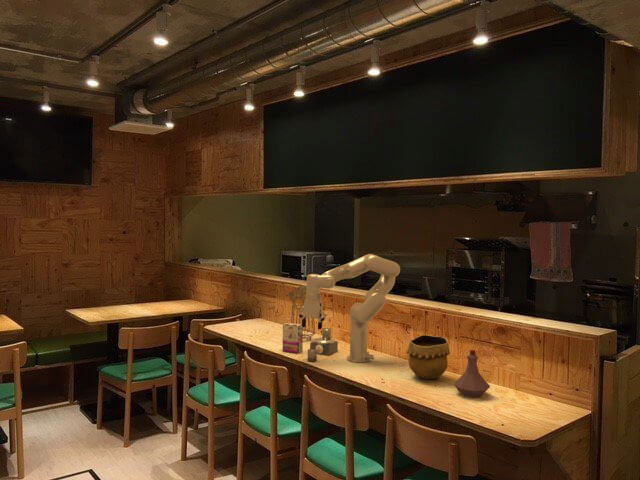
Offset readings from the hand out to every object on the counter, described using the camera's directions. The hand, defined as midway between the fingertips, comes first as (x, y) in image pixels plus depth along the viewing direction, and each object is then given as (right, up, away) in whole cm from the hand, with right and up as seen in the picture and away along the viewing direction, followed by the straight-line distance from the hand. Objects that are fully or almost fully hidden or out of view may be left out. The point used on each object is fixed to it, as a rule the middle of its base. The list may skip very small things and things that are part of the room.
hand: (311, 328), depth 289 cm
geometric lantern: (-7, -16, +50) cm, 53 cm away
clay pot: (+58, -21, -27) cm, 67 cm away
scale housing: (+7, -18, +20) cm, 28 cm away
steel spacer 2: (+8, -10, +23) cm, 26 cm away
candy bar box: (-12, -17, +20) cm, 29 cm away
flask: (+73, -22, -50) cm, 91 cm away
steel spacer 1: (0, -18, +1) cm, 18 cm away
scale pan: (+7, -12, +20) cm, 24 cm away
